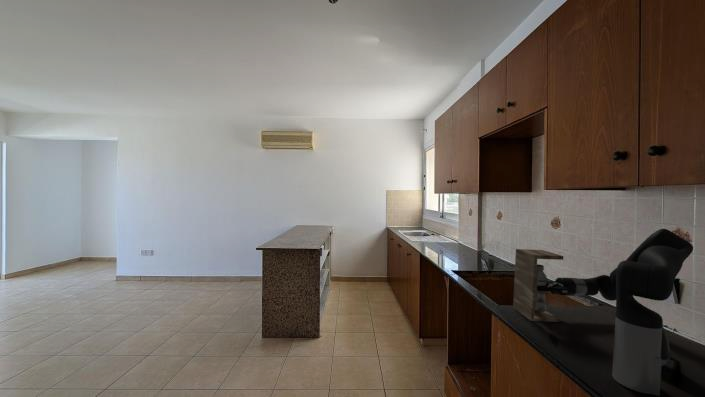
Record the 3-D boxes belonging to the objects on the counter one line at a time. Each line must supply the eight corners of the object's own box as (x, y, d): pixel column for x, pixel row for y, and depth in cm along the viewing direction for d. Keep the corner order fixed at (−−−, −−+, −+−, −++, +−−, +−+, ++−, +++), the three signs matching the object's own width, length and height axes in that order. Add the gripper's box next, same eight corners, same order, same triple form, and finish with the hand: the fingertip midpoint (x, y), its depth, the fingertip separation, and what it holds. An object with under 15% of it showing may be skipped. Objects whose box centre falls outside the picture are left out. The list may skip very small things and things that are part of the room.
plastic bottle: (549, 315, 123) (551, 267, 123) (531, 313, 125) (533, 266, 124) (542, 309, 130) (544, 264, 129) (525, 307, 131) (527, 262, 131)
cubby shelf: (538, 309, 134) (541, 249, 133) (559, 321, 121) (563, 256, 120) (512, 308, 133) (515, 249, 133) (531, 320, 120) (534, 255, 120)
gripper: (558, 273, 134) (522, 272, 134) (584, 283, 120) (544, 282, 120) (558, 289, 135) (521, 289, 134) (583, 301, 120) (543, 300, 120)
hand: (532, 285), depth 127 cm, fingers closed on plastic bottle, 6 cm apart
